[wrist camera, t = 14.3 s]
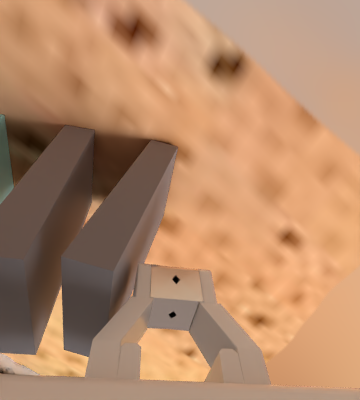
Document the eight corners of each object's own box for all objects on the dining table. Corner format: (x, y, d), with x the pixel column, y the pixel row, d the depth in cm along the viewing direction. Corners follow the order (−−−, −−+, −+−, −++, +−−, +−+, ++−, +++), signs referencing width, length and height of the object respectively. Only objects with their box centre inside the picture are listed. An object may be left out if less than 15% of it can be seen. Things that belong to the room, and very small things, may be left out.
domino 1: (66, 198, 19) (-11, 352, 11) (65, 125, 16) (-39, 252, 8) (91, 202, 19) (35, 354, 11) (94, 129, 16) (23, 259, 8)
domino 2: (140, 208, 20) (64, 349, 11) (151, 139, 17) (61, 256, 8) (163, 215, 20) (103, 361, 11) (177, 146, 17) (113, 271, 8)
